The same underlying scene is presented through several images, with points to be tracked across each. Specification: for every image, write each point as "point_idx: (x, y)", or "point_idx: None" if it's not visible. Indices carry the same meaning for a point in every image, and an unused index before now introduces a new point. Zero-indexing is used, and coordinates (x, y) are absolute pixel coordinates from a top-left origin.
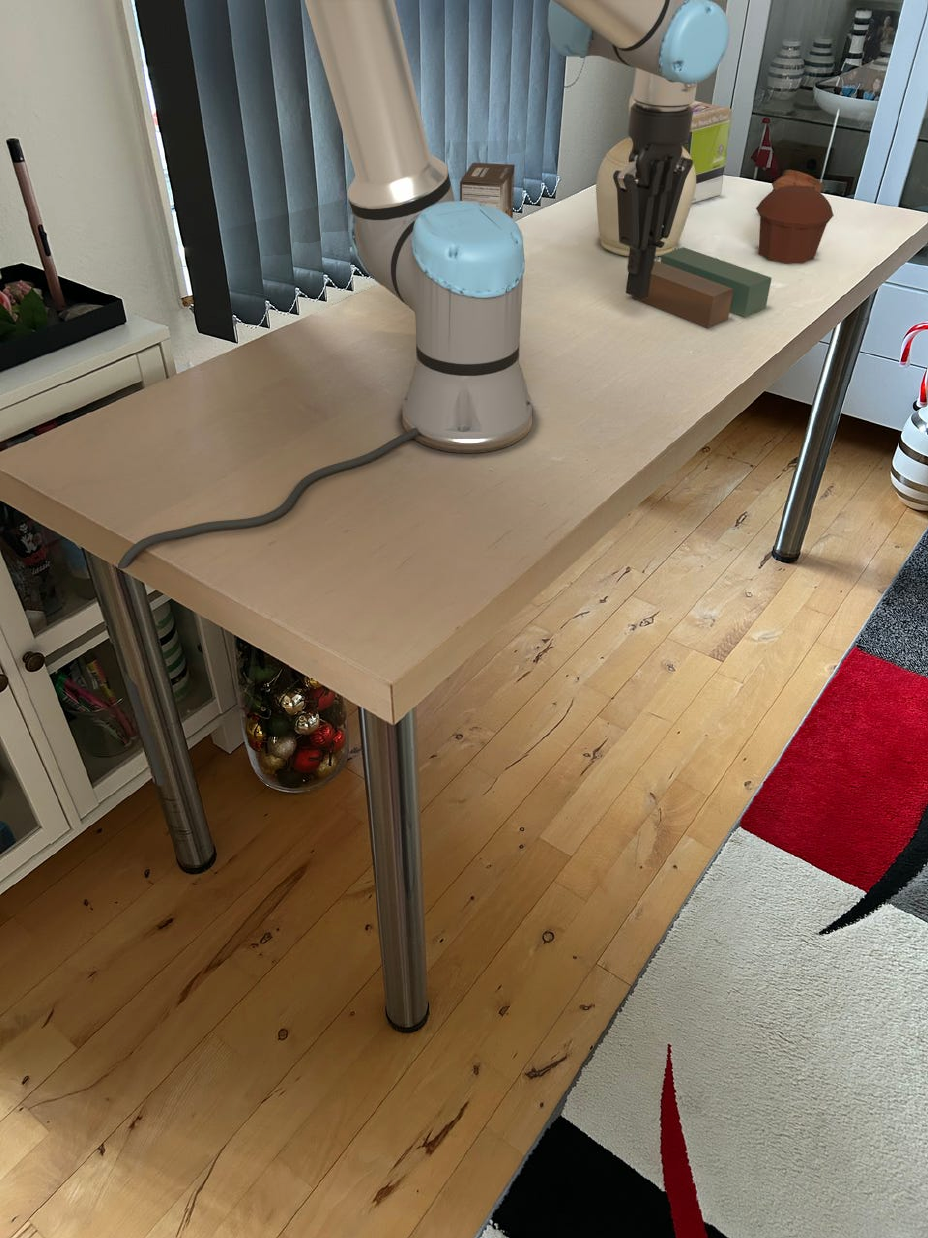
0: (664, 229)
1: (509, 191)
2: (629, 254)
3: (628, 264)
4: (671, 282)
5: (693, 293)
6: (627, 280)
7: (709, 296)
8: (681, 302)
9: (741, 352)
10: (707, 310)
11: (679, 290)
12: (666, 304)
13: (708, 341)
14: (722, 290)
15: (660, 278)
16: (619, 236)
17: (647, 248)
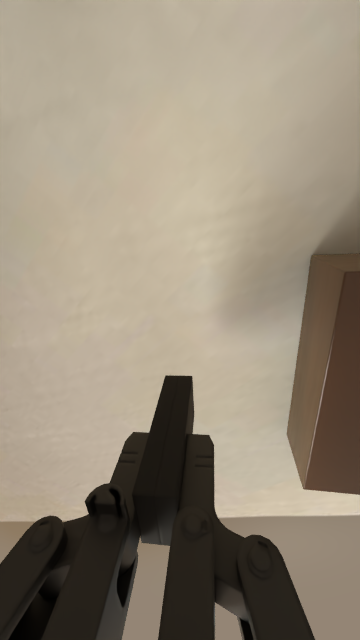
0: (241, 632)
1: None
2: (110, 482)
3: (121, 453)
4: (319, 396)
5: (306, 445)
6: (159, 397)
7: (303, 481)
8: (301, 401)
9: (248, 493)
10: (294, 455)
11: (310, 410)
12: (302, 358)
13: (243, 453)
14: (353, 487)
15: (325, 363)
16: (10, 554)
17: (156, 535)
